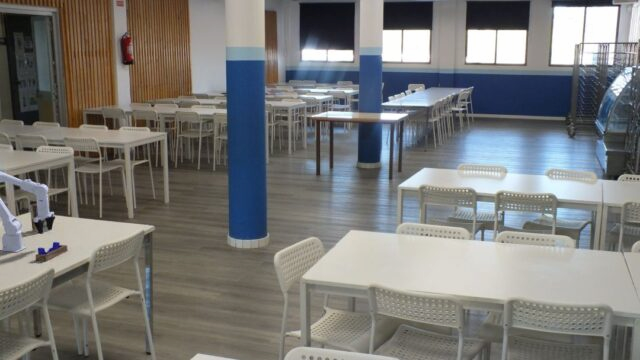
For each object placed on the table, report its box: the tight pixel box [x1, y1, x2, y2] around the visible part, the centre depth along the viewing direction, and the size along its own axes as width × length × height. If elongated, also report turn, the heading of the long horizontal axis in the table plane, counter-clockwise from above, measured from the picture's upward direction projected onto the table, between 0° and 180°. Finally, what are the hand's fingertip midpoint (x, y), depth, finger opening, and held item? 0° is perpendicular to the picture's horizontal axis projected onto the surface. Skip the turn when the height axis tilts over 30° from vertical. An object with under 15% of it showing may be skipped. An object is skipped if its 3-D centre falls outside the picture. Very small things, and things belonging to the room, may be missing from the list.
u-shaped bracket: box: [35, 244, 68, 262], centre depth 343 cm, size 6×18×3 cm, turn 166°
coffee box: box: [29, 202, 51, 233], centre depth 387 cm, size 9×6×16 cm
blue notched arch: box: [37, 241, 61, 255], centre depth 342 cm, size 12×4×6 cm, turn 158°
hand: (45, 231), depth 353 cm, fingers open, 7 cm apart
